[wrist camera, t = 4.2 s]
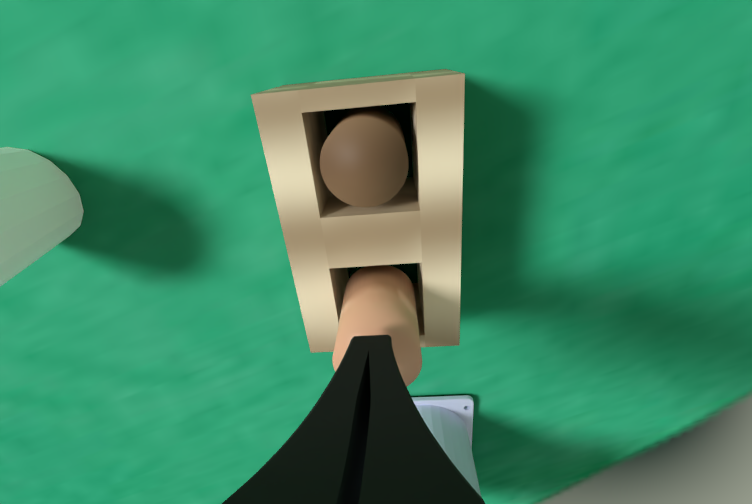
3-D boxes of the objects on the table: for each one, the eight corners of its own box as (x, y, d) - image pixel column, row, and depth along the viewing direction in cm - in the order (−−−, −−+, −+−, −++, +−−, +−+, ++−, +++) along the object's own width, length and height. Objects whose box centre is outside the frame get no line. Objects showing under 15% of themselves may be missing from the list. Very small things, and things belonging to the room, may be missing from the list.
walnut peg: (405, 172, 20) (410, 204, 16) (339, 177, 20) (327, 210, 16) (401, 100, 18) (406, 114, 14) (330, 107, 18) (312, 123, 14)
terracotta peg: (415, 319, 20) (423, 392, 15) (349, 323, 20) (339, 395, 16) (412, 261, 18) (420, 325, 14) (340, 266, 18) (326, 330, 14)
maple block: (446, 291, 24) (459, 345, 19) (324, 298, 24) (310, 352, 20) (445, 69, 18) (464, 73, 13) (283, 85, 18) (250, 94, 14)
